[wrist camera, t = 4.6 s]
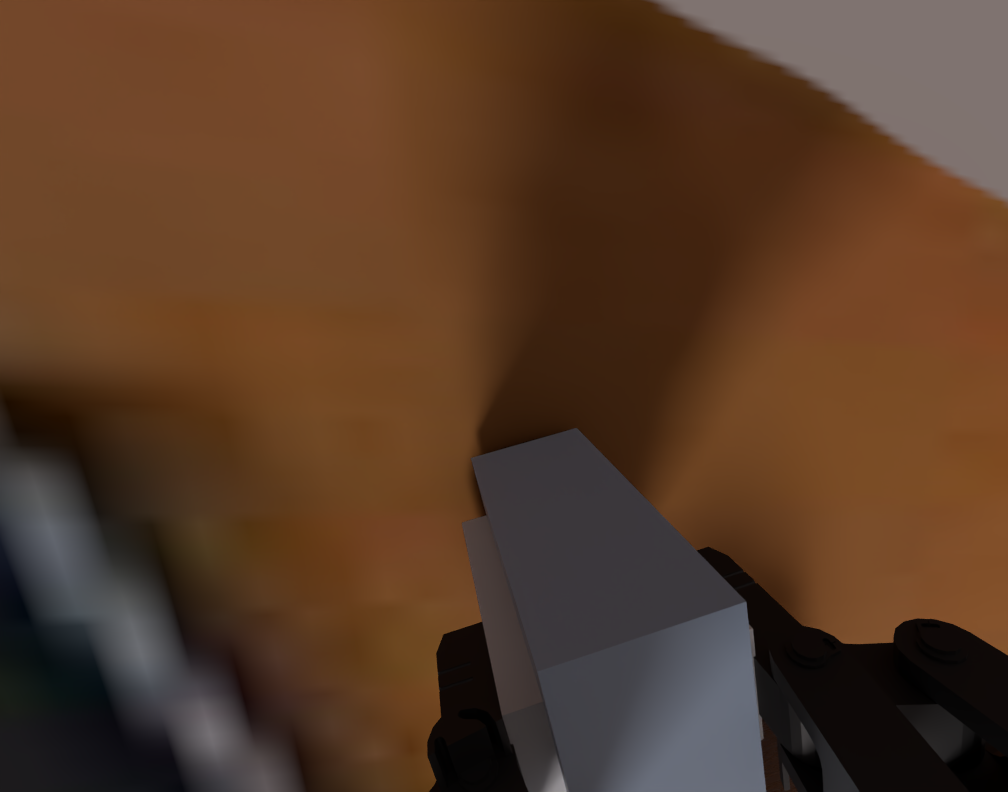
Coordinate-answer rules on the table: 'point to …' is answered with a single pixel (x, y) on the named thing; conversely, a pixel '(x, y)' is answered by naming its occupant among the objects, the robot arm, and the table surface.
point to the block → (622, 626)
